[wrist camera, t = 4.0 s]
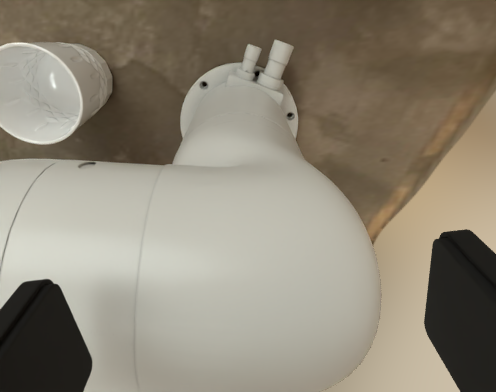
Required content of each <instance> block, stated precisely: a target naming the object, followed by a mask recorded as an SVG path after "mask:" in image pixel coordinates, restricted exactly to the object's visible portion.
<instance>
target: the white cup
mask: <svg viewBox="0 0 496 392" xmlns="http://www.w3.org/2000/svg"><path fill="white" fill-rule="evenodd" d="M112 78H113V77H112V74H111V72H110V70H109V67H108V65H107V63H106V61H105V60H104V59H103V58H102V57H101V56H100V55H99V54H98V53H97V52H96V51H95V50H93V49H91V48H88V47H86V46H84V45H81V44H68V43H62V42H24V43H9V44H5V45H3V46H0V127H1V128H3V129H4V130H5V131H6V132H8V133H9V134H11V135H12V136H14V137H16V138H18V139H20V140H23V141H25V142H29V143H33V144H43V145H44V144H53V143H57V142H60V141H62V140H64V139H66V138H67V137H69V136H70V135H71V134H72V133H73V132H75V131H76V130H77V129H78V128H79V127H81V126H82V125H83V124H84V123H86V122H87V121H88V120H89V119H90V118H91V117H92V116H93V115H94V114H95V113H97V111H98V110H99V109H100V108H101V107H102V106H103V105H105V104H106V102H107V100H108V98H109V97H110V95H111V93H112Z"/></svg>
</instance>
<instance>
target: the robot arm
mask: <svg viewBox="0 0 496 392" xmlns="http://www.w3.org/2000/svg"><path fill="white" fill-rule="evenodd" d="M293 48H294V46H291V45H289V44H286V43H284V42H281V41H279V40H276V39H275V40H274V43H273V46H272V49H271V51H270V54H269V57H268V58H269V60H268V63H267V66H266V68H265V69H264V68H263V67H260V66H257V65H256V62H257V61H258V58H259V55H260V52H261V50H262V49H261V48H259V47H257V46H254V45H251V44H248V45H247V48H246V51H245V54H244V59H243V62H242V63H240V62H239V63H228V64H225V65H221V66H218V67H215V68H214V69H212V70H210V71H208V72H206V73H205V74H204V75H203V76H201V77H200V78H199V79H198V80H197V81H196V82H195V83H194V84H193V86H192V87H191V88H190V90H189V92H188V93H187V95H186V97H185V100H184V102H183V105H182V110H181V115H180V128H181V133H182V138H183V140H182V142H181V145H180V147H179V149H178V151H177V153H176V155H175V158H174V161H173V163H172V164H166V165H150V164H133V163H117V162H100V161H84V160H59V159H16V160H7V161H1V162H0V392H320V391H323V390H326V389H328V388H330V387H332V386H334V385H335V384H337V383H339V382H341V381H342V380H344V379H345V378H346V377H348V376H349V375H350V374H351V373H352V372H353V371H354V370H355V369H356V368H357V367H358V366H359V365H360V364H361V362H362V361H363V359H364V358H365V356H366V354H367V353H368V351H369V349H370V348H371V345H372V343H373V340H374V337H375V334H376V332H377V328H378V323H379V319H380V310H381V282H380V274H379V269H378V263H377V258H376V255H375V251H374V248H373V245H372V242H371V240H370V237H369V235H368V232H367V230H366V228H365V226H364V224H363V222H362V220H361V218H360V216H359V215H358V213H357V211H356V210H355V209H354V207H353V206H352V204H351V203H350V201H349V200H348V199H347V198H346V197H345V195H344V194H343V193H342V192H341V191H340V189H339V188H338V187H337V186H336V185H335V184H334V183H333V182H332V181H331V180H330V179H329V178H328V177H326V176H325V175H324V174H323V173H321V172H320V171H319V170H318V169H316V168H315V167H314V166H312V165H311V164H310V163H308V162H307V161H305V159H304V157H303V155H302V153H301V150H300V148H299V146H298V144H297V142H296V135H297V131H298V114H297V108H296V105H295V102H294V99H293V97H292V95H291V93H290V91H289V90H288V88H287V87H286V86H285V84H284V83H283V82H284V80H282V79H281V77H282V74H283V72H284V69H285V66H286V65H287V64H288V61H289V59H290V56H291V53H292V51H293ZM255 72H259V76H255V74H254V73H255ZM203 82H206V83H207V86H205V87H204V86H203V85H202V83H203ZM288 113H292V115H291V116H290V117H288V116H287V114H288ZM424 324H425V329H426V332H427V335H428V337H429V339H430V340H431V342H432V344H433V345H434V347H435V349H436V351H437V352H438V354H439V356H440V357H441V359H442V361H443V363H444V364H445V366H446V368H447V369H448V371H449V372H450V375H451V376H452V378H453V380H454V381H455V383H456V385H457V387H458V388H459V390H460V392H496V254H495V253H494V252H493V251H492V250H491V249H490V248H489V247H488V246H487V245H485V244H484V242H482V241H481V240H480V239H479V238H478V237H477V236H476V235H475V234H474V233H473V232H472V231H470V230H458V231H450V232H443V233H442V234H441V235H440V238H439V239H436V240H435V241H434V242H433V248H432V256H431V265H430V274H429V284H428V293H427V302H426V311H425V321H424Z"/></svg>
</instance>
